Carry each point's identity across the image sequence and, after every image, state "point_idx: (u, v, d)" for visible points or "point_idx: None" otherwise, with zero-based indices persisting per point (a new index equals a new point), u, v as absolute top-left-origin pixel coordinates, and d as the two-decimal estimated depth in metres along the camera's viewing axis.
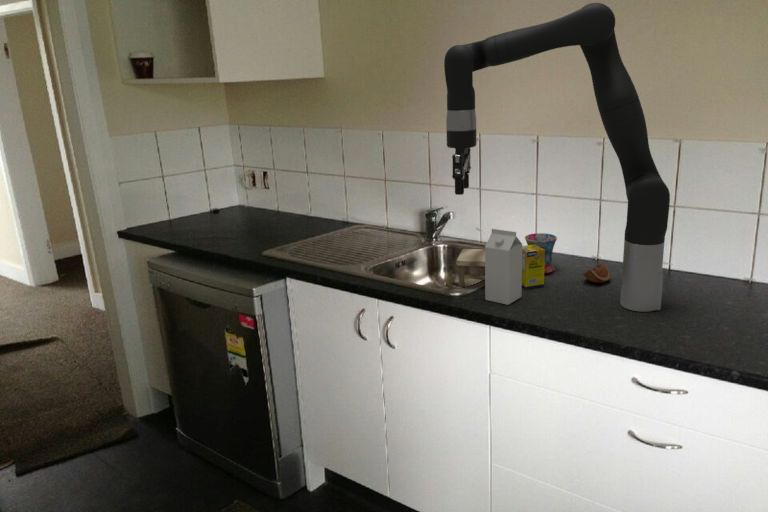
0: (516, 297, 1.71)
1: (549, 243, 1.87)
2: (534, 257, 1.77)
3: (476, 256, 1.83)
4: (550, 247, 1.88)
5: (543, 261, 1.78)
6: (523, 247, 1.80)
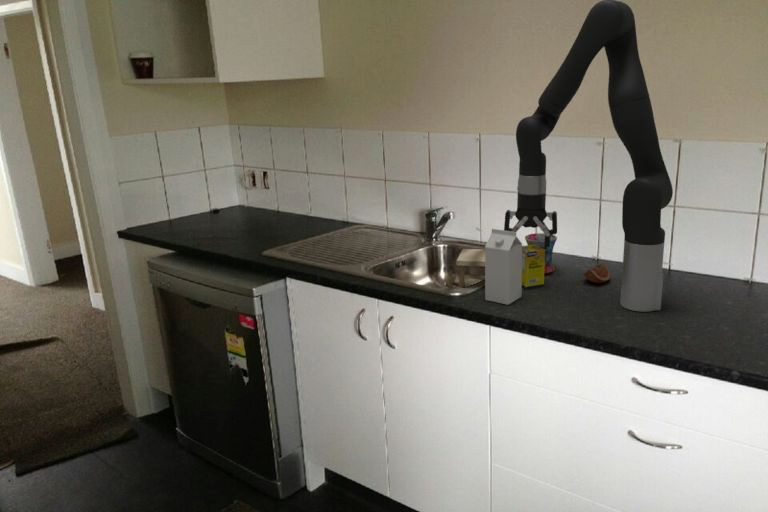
0: (516, 297, 1.71)
1: None
2: (534, 257, 1.77)
3: (476, 256, 1.83)
4: (550, 247, 1.88)
5: (543, 261, 1.78)
6: (523, 247, 1.80)
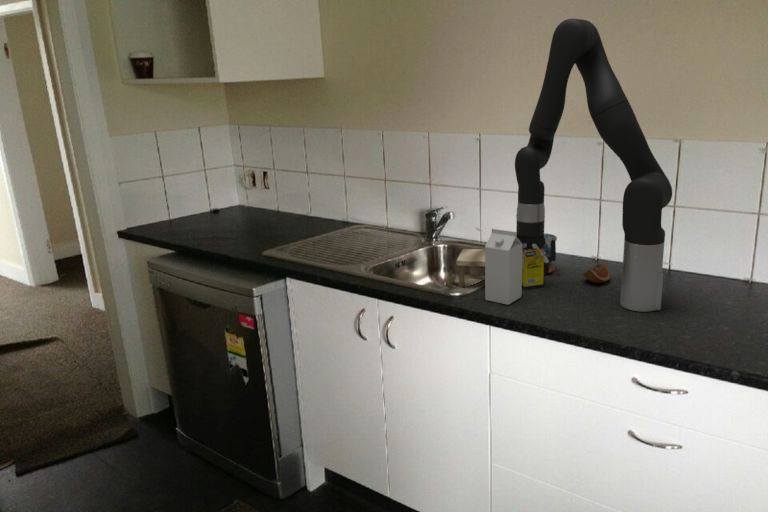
0: (516, 297, 1.71)
1: None
2: (533, 258, 1.77)
3: (476, 256, 1.83)
4: (550, 247, 1.88)
5: (542, 261, 1.78)
6: None
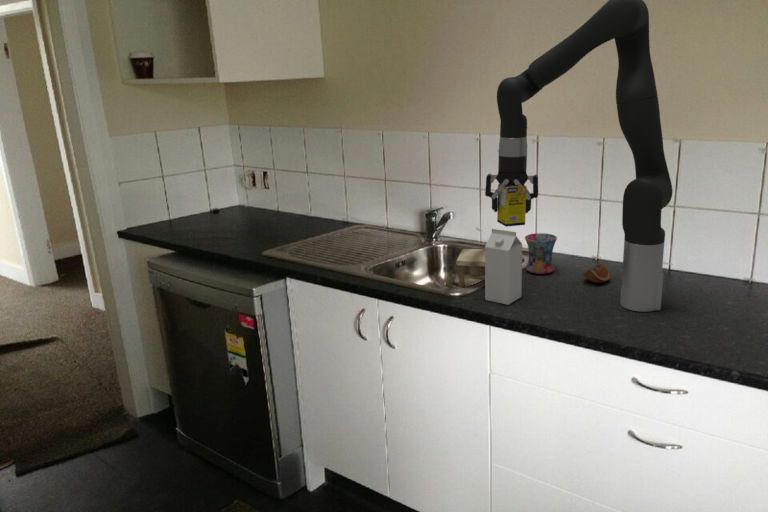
0: (516, 297, 1.71)
1: (549, 243, 1.87)
2: (515, 194, 1.74)
3: (476, 256, 1.83)
4: (550, 247, 1.88)
5: (524, 198, 1.75)
6: None
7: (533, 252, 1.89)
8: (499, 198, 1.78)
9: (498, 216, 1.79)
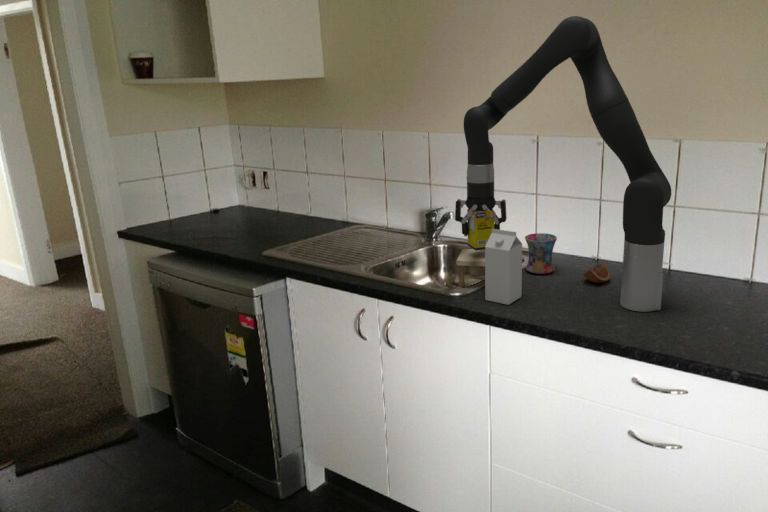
0: (516, 297, 1.71)
1: (549, 243, 1.87)
2: (484, 219, 1.78)
3: (476, 256, 1.83)
4: (550, 247, 1.88)
5: (493, 223, 1.79)
6: None
7: (533, 252, 1.89)
8: (468, 222, 1.83)
9: (469, 240, 1.84)
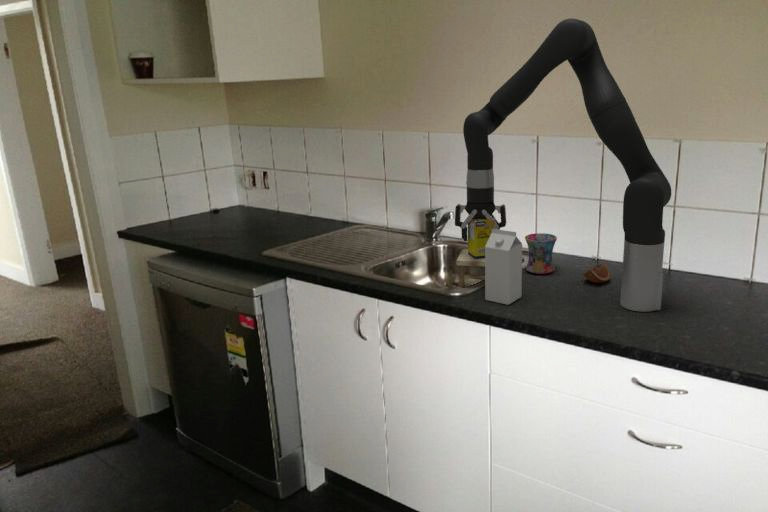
0: (516, 297, 1.71)
1: (549, 243, 1.87)
2: (483, 227, 1.79)
3: None
4: (550, 247, 1.88)
5: None
6: None
7: (533, 252, 1.89)
8: (468, 230, 1.83)
9: (469, 248, 1.85)
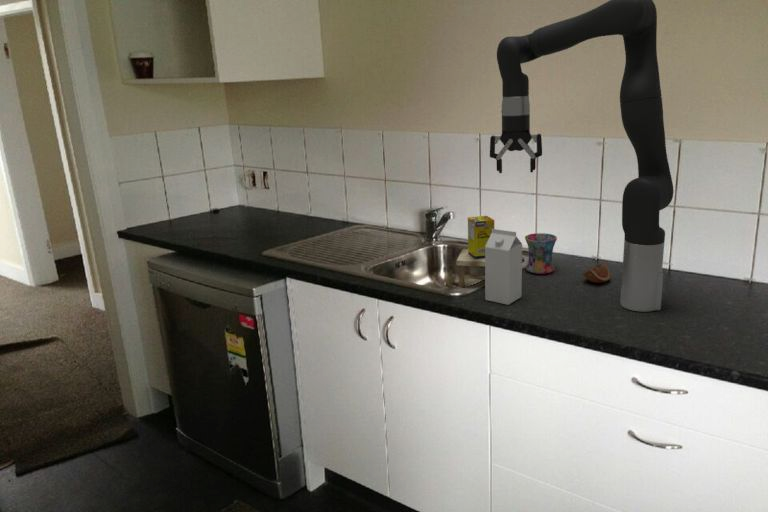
0: (516, 297, 1.71)
1: (549, 243, 1.87)
2: (483, 227, 1.79)
3: None
4: (550, 247, 1.88)
5: None
6: (474, 217, 1.82)
7: (533, 252, 1.89)
8: (469, 230, 1.83)
9: (469, 248, 1.85)
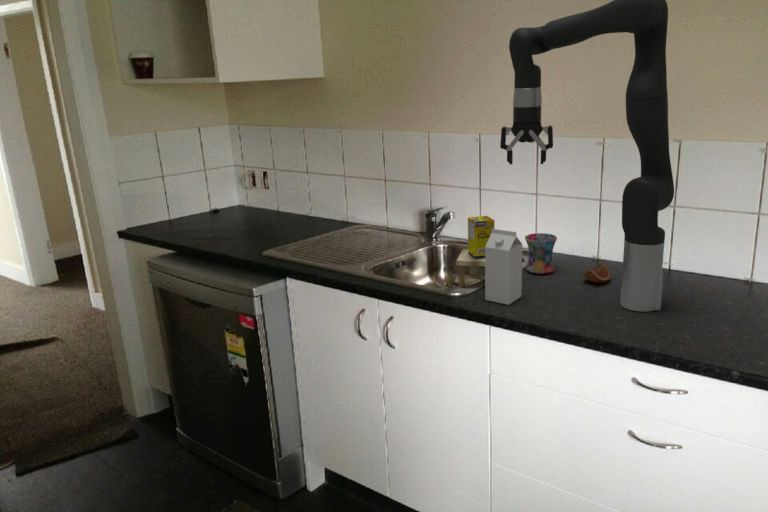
0: (516, 297, 1.71)
1: (549, 243, 1.87)
2: (483, 227, 1.79)
3: None
4: (550, 247, 1.88)
5: None
6: (474, 217, 1.82)
7: (533, 252, 1.89)
8: (469, 230, 1.83)
9: (469, 248, 1.85)
